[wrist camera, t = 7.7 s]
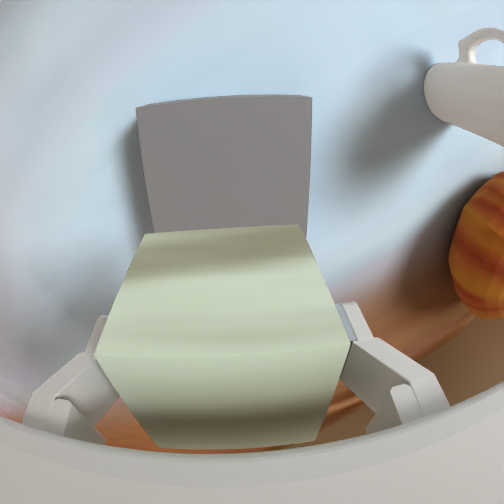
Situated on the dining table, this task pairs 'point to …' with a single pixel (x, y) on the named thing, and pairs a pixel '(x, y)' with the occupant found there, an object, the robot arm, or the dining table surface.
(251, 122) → the riser block
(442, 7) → the dining table surface
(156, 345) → the cube
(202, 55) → the dining table surface
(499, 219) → the pumpkin
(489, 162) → the dining table surface
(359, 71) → the dining table surface
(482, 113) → the mug
